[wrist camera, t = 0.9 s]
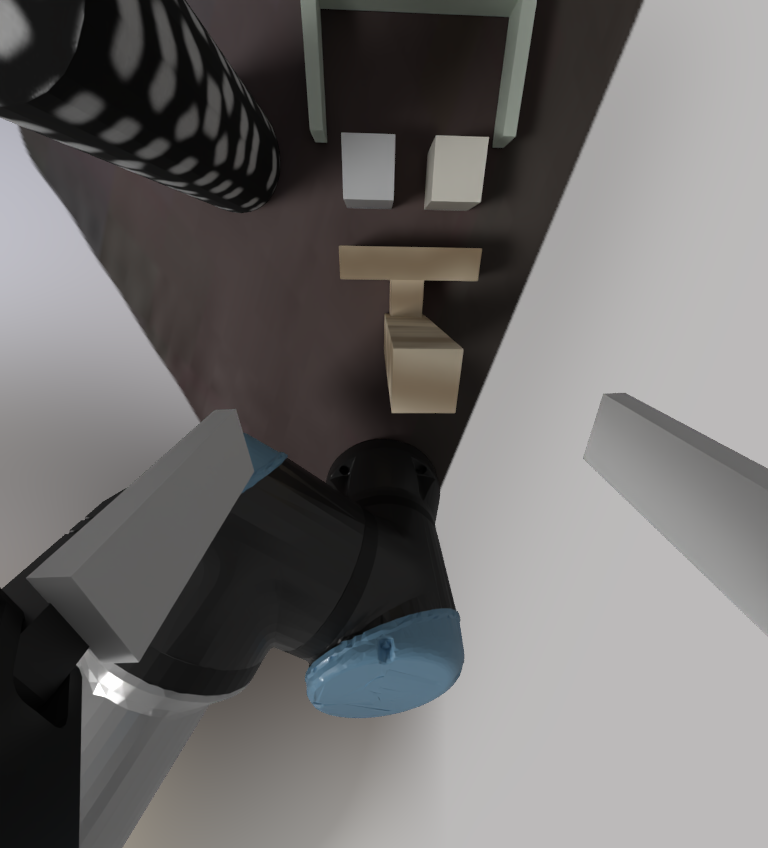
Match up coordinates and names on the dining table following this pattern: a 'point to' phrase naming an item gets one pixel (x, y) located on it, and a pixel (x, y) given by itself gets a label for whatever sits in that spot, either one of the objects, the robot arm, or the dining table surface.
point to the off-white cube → (455, 172)
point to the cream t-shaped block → (415, 321)
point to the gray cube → (368, 170)
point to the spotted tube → (138, 95)
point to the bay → (512, 3)
